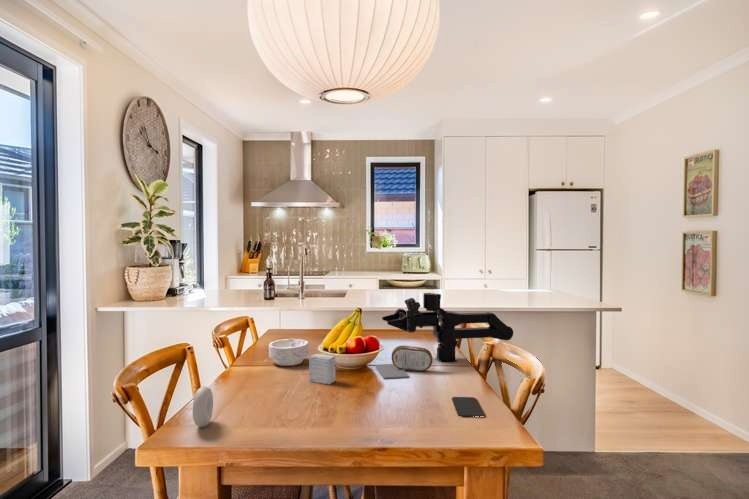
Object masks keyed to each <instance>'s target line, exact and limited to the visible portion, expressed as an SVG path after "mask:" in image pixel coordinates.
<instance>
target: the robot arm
mask: <svg viewBox="0 0 749 499" xmlns="http://www.w3.org/2000/svg"><path fill="white" fill-rule="evenodd" d="M441 298H442V295H441V293H434V292H433V293H432V292H424V293H423V302H422V303H423V305H422V306H423V308H424V309H425V311H419V309H420V308H421V304H420V302H418V301H416V299H415V298H413V297H410V298H408V299H405V300H404V304H405V305H406V308H407V310H405V309H403V308H397V309H396V311H395V312H394V313H391V314H388V315H385V316H382V319H381V320H382V321H384V322H387V323H386V324H387V325H389V326H392V327H394V328H397V329H399V330H402V331H404V332H408V333H415V332H416V331H417V328H420V329H423V328H429V327H431V328H433V329H432V336H433V337H434V338H435V339H436V342H437V343H438V344H437V347H436V359H437V360H438V361H440V362H441V363H447V362H448V363H449V362H451V363H452V362H457V361H458V360H457V359H456V347H457V345H458V341H457V340H460V339H462V340H463V339H464V340H465V339H484V338H485V339H486V338H488V339H489V338H490V339H497V340H501V341H502V340H503V341H510V340H511V339H512V338H513V336H514V330H513V328H512V327H511V326H509V325H506V323H504V321H503V320H501V319H500V318H499V317H498V316H497V315H496V314H495V313H493V312H490V311H486V312H464V313H463V312H461V313H460V312H456V311H449V310H445V309H444V308H442V307H441ZM464 324H487V325H488V326H483V327H482V326H481V327H480V326H479V327H457V326H460V325H464Z"/></svg>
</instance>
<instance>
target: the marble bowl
mask: <svg viewBox="0 0 749 499" xmlns="http://www.w3.org/2000/svg"><path fill="white" fill-rule="evenodd" d="M309 350H310V349H309V341H307V340H305V339H300V338H286V339H285V338H284V339H277V340H274V341H272V342H270V343H269V344H268V357H269V358H270V359H272V360H273V361H274V363H275V364H276V365H277V366H283V367H291V366H292V367H293V366H296V365H297V366H298V365H300V364H301V363H302V362H303V361H304V359H305V358H306V357H309V352H310V351H309Z"/></svg>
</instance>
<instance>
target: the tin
mask: <svg viewBox="0 0 749 499" xmlns="http://www.w3.org/2000/svg"><path fill="white" fill-rule="evenodd" d="M391 361H392V364H394V365H395V366H396V367H397V368H399V369H403V370H404V371H416V372H425V371H427V370H429V369H430V368H431V367H432V364H433V355H432V353H431V351H430V350H428V349H427V348H425V347H420V346H412V345H411V346H409V345H399V346H395V347H394V349H393V350H392V353H391Z"/></svg>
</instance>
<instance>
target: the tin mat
mask: <svg viewBox="0 0 749 499" xmlns="http://www.w3.org/2000/svg"><path fill="white" fill-rule="evenodd" d="M374 367H375V369H376V370H377V372H378V373H379V374H380V377H382V378H383V380H391V379H409V378H410V375H408V373H407V372H406V370H405V369H399V368H397V367H396V366H395V365H394V364H393V363H385V364H383V363H380V364H374Z"/></svg>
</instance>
